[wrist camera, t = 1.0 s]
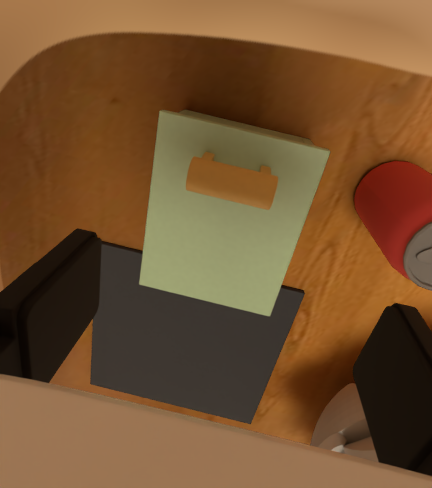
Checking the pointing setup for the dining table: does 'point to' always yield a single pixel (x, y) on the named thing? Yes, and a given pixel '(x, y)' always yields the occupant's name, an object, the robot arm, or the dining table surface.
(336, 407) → the decorative bowl
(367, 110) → the dining table surface
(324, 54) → the dining table surface
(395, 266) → the beer can
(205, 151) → the lid
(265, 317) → the felt mat
